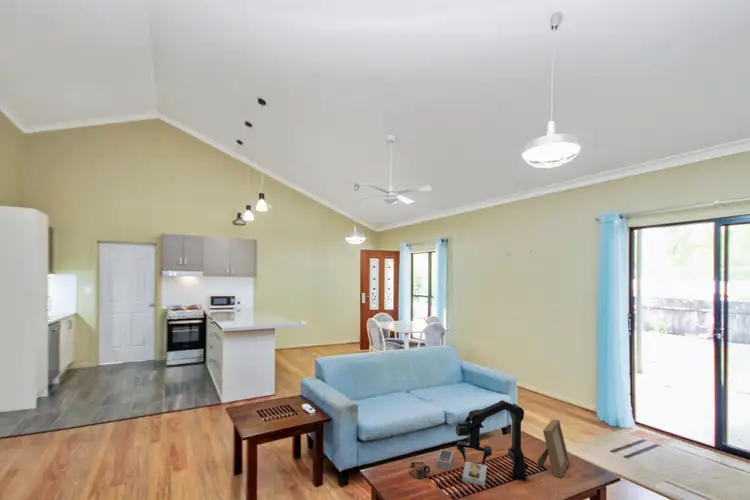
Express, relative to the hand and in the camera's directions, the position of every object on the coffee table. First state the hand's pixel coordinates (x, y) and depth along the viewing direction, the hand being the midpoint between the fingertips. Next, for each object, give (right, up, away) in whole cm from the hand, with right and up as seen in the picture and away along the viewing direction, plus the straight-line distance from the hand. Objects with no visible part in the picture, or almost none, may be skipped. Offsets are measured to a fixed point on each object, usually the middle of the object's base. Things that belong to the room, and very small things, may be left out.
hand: (474, 463), depth 213 cm
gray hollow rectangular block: (-13, -9, +17) cm, 23 cm away
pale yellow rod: (0, -8, 0) cm, 8 cm away
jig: (+1, -9, +4) cm, 10 cm away
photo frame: (+51, -11, +16) cm, 55 cm away
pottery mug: (-30, -8, +2) cm, 31 cm away
